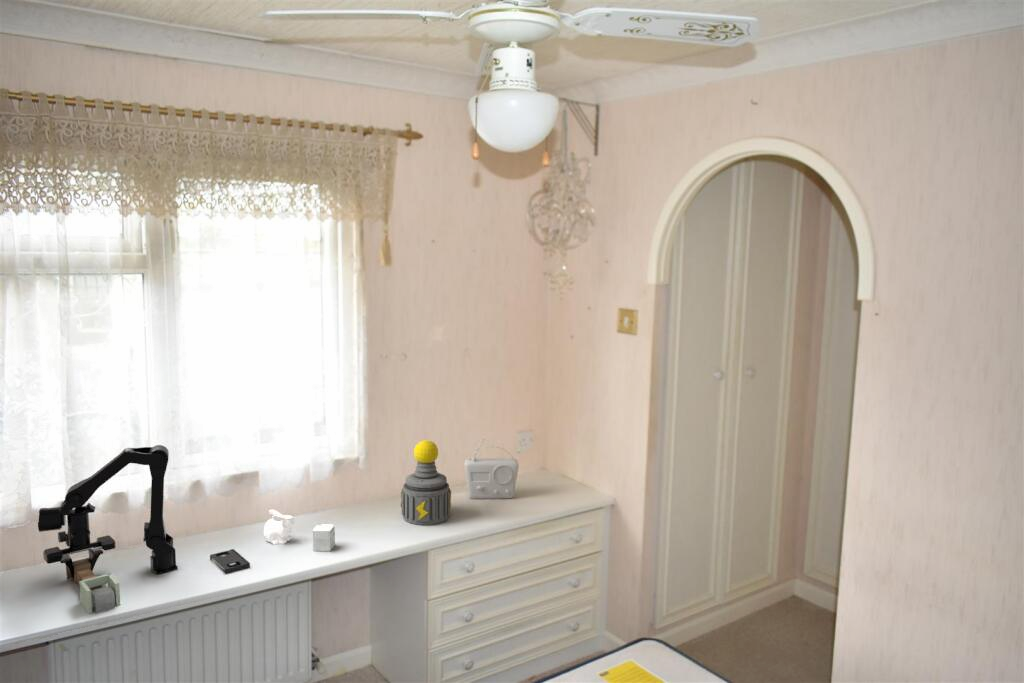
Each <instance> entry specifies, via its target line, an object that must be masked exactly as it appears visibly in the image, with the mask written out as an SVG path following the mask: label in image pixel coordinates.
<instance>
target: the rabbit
mask: <svg viewBox="0 0 1024 683" xmlns="http://www.w3.org/2000/svg"><path fill="white" fill-rule="evenodd" d="M268 514H270V515H272V516H271V517H272V518H270V519H268V520H267V521H266V522H265V524H264V528H263V534H264V538H265V540H266V542H268V543H271V544H273V545H279V544H280V545H284V544H287V542H289V541H291V537H290V536H289V535H291V533H292V530H293V528H292V526H294V525H295V524H296V521H295V517H294V516H292V515H290V514H289V515H288V514H286V515H283V514H282V513H280V512H279V511H277V510H275V509H270V510H269V511H268Z"/></svg>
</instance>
